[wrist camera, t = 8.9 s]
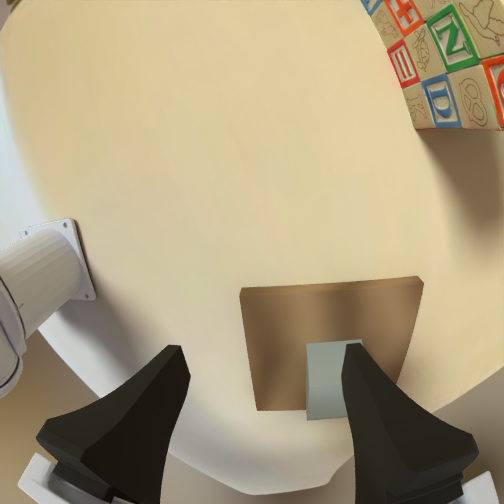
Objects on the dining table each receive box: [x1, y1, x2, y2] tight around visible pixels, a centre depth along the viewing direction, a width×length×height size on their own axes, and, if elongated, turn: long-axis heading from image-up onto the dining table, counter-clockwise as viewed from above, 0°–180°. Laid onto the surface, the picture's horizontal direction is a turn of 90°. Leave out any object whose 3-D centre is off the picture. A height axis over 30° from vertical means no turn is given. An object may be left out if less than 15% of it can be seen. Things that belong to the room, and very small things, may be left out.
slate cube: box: [305, 339, 363, 420], centre depth 19 cm, size 4×4×4 cm
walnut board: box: [239, 276, 424, 411], centre depth 21 cm, size 14×14×1 cm
